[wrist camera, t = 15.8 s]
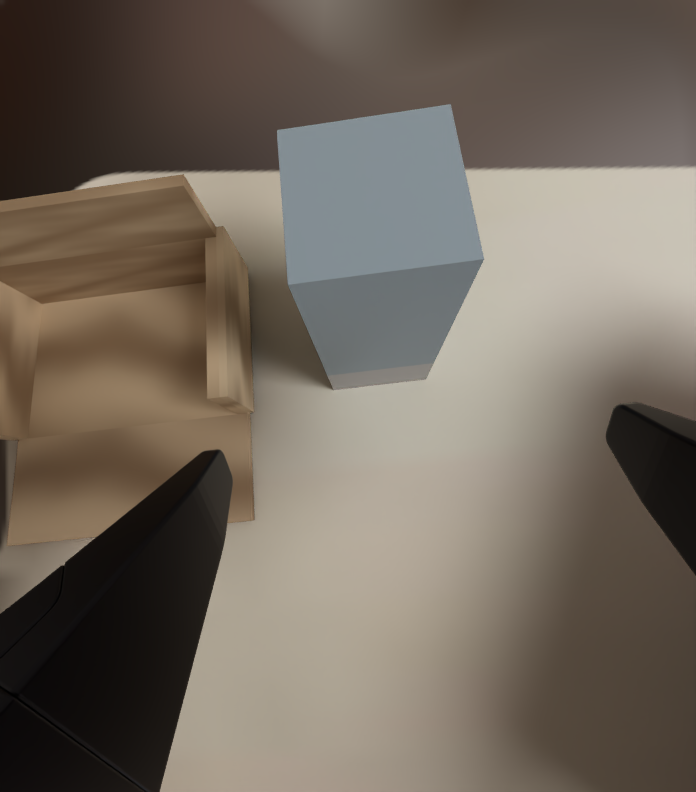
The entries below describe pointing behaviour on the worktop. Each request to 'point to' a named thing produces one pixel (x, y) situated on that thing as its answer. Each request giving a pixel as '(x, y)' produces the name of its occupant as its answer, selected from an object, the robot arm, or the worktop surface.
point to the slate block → (378, 240)
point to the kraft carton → (119, 353)
